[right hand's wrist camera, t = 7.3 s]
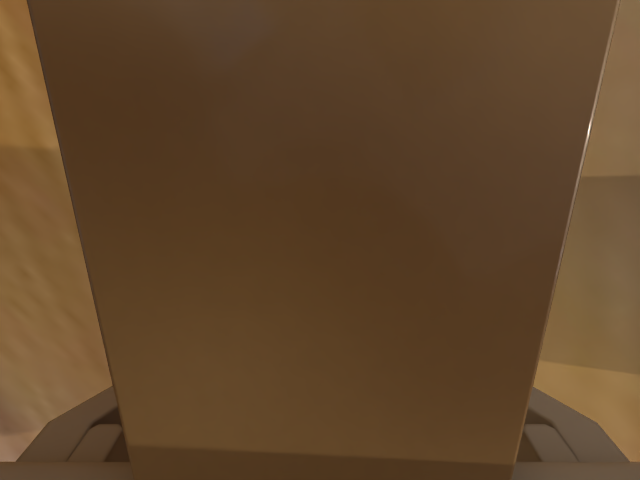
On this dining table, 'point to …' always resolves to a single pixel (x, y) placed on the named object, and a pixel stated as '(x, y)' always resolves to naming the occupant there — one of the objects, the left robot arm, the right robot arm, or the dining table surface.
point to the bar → (323, 222)
